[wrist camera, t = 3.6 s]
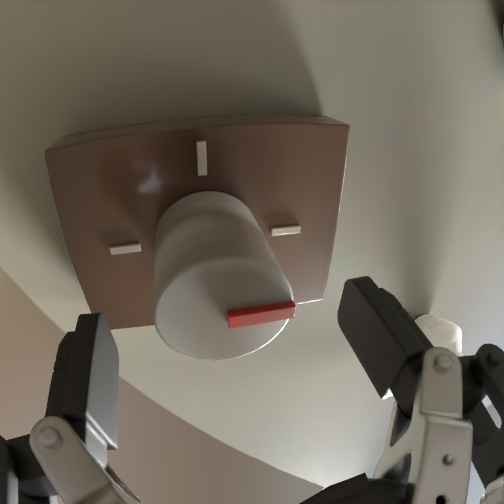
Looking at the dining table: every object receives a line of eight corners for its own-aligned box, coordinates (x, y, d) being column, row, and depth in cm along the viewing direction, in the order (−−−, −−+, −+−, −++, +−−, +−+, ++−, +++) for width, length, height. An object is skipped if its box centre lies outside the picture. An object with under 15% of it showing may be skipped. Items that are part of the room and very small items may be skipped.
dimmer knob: (163, 285, 15) (167, 375, 10) (148, 196, 12) (139, 274, 8) (255, 273, 16) (290, 355, 11) (257, 185, 13) (305, 253, 9)
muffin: (432, 334, 30) (465, 379, 24) (388, 354, 29) (421, 406, 23) (447, 293, 26) (489, 341, 21) (400, 314, 26) (442, 371, 20)
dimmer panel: (103, 301, 17) (98, 333, 15) (62, 137, 12) (42, 151, 10) (308, 274, 20) (325, 301, 18) (325, 115, 15) (352, 126, 12)
